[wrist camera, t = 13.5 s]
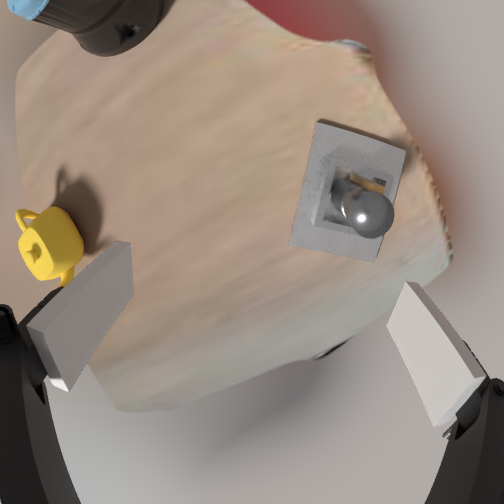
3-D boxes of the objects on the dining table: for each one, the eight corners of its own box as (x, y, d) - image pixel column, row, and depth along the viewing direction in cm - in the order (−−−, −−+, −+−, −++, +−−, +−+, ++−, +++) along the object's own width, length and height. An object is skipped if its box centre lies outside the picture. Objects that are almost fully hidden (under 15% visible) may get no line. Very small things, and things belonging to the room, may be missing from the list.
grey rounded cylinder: (329, 210, 38) (345, 234, 29) (337, 170, 36) (358, 181, 27) (362, 217, 38) (386, 242, 29) (371, 178, 36) (400, 192, 27)
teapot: (109, 267, 45) (78, 297, 35) (77, 288, 47) (47, 317, 37) (60, 182, 39) (19, 196, 29) (32, 213, 42) (-4, 231, 32)
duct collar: (315, 122, 35) (320, 120, 31) (403, 150, 35) (414, 152, 32) (288, 242, 41) (290, 251, 38) (371, 260, 42) (379, 269, 39)
